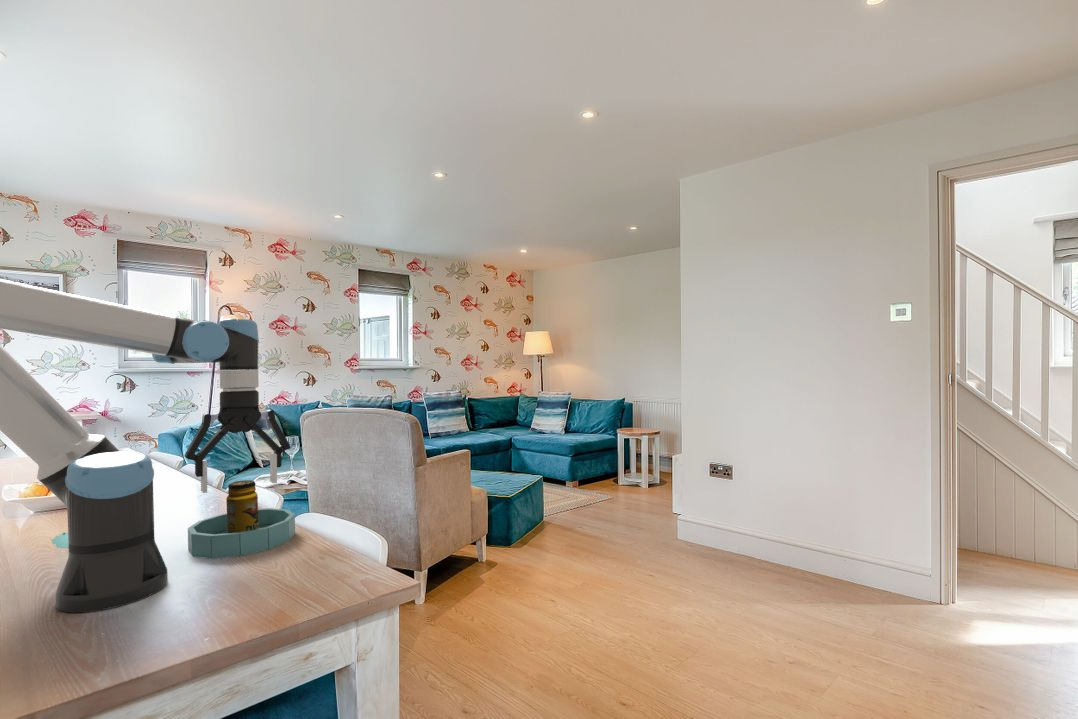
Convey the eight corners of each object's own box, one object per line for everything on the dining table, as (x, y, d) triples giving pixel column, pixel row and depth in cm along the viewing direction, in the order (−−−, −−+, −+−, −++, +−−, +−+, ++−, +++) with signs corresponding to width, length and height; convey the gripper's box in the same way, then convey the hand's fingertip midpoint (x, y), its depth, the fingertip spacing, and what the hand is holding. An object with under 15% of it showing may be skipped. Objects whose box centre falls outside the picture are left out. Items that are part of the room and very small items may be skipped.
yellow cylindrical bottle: (264, 536, 120) (263, 482, 120) (220, 546, 114) (219, 488, 114) (254, 529, 125) (253, 477, 125) (212, 538, 119) (211, 483, 119)
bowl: (305, 541, 119) (304, 520, 119) (198, 565, 106) (197, 542, 106) (279, 522, 134) (279, 503, 134) (183, 541, 121) (182, 521, 121)
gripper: (294, 387, 131) (294, 476, 131) (169, 391, 115) (169, 493, 115) (304, 388, 125) (304, 481, 125) (173, 392, 109) (174, 499, 109)
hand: (240, 487), depth 120 cm, fingers open, 13 cm apart
